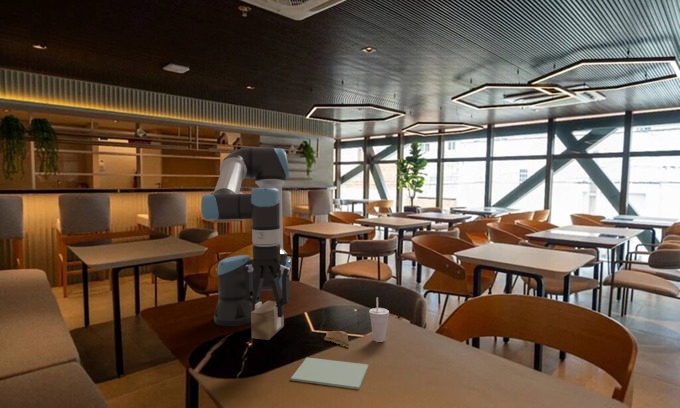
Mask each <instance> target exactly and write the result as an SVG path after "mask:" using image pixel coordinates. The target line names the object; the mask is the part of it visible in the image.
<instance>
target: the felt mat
mask: <svg viewBox="0 0 680 408" xmlns="http://www.w3.org/2000/svg"><path fill="white" fill-rule="evenodd" d="M368 368H369V364H368V363H367V364H366V363H359V362H358V363H357V362H349V361H343V360H342V361H341V360H333V359H324V358H316V357H314V358H313V357H308V356H306V357H305V359H304V360H303V362H302V363H301V364H300V365H299V367H298V368H297V369H296V371H295V372H294V373H293V375H292V376H291V377H290V380H291V381H293V382H301V383H308V384H309V383H310V384H313V385H314V384H316V385H322V386H323V385H324V386H329V387H337V388H345V389H352V390H360V388H361V387H362V386H361V385H362V383H363V380H364V378H365V375H366V374H367V371H368Z"/></svg>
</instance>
